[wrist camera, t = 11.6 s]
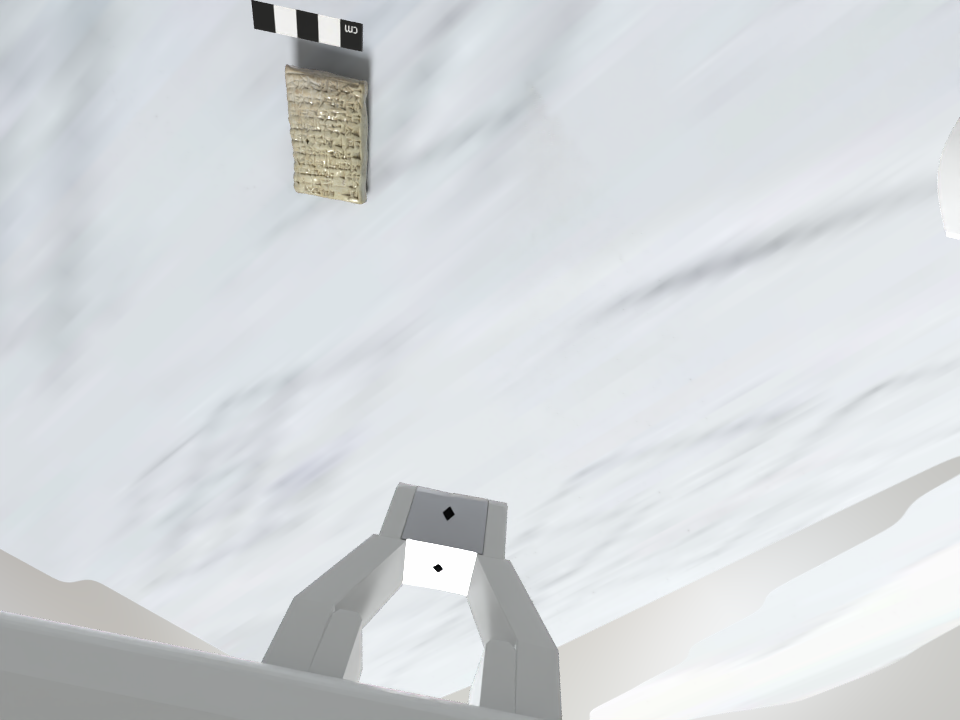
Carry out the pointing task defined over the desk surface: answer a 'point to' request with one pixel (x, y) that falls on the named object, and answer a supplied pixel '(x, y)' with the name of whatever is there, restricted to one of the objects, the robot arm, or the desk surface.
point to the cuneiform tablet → (323, 107)
